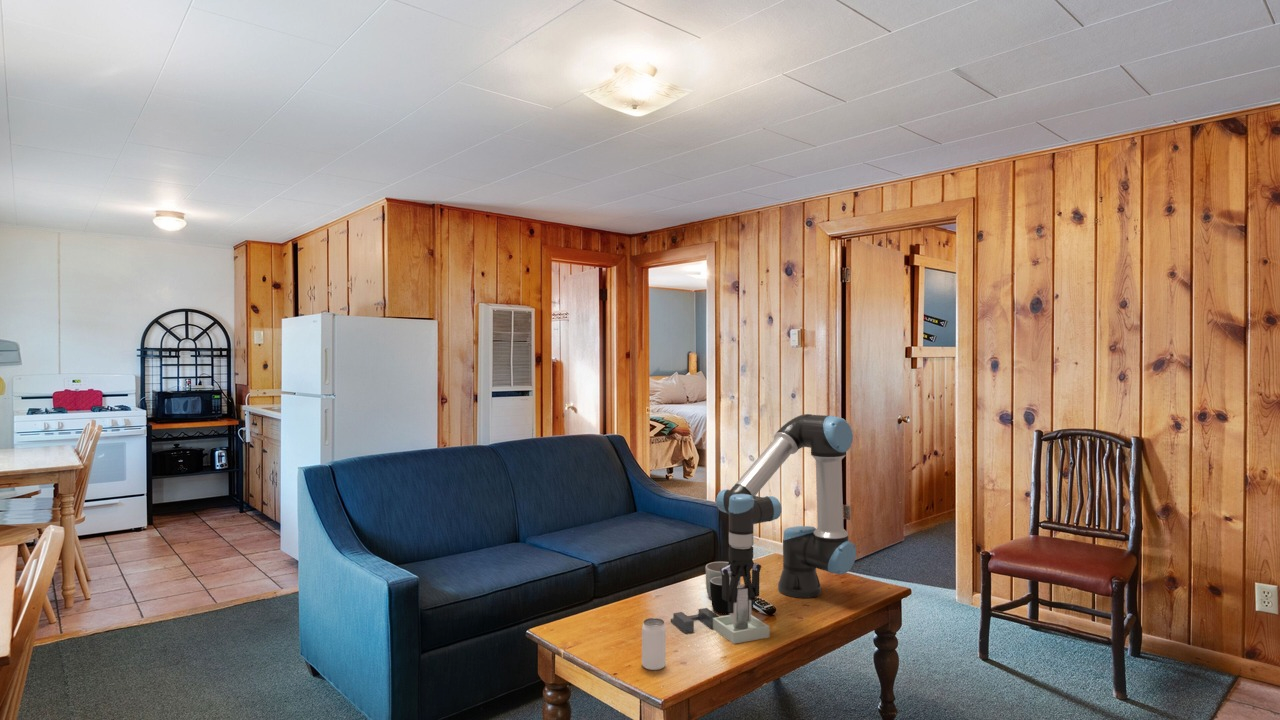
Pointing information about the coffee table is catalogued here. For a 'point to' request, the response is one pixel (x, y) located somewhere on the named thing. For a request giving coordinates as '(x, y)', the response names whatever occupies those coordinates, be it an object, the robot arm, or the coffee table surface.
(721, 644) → the coffee table surface
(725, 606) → the mug
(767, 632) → the tray
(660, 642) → the can
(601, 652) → the coffee table surface
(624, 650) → the coffee table surface
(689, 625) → the hitch clevis
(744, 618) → the pin
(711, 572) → the planter
